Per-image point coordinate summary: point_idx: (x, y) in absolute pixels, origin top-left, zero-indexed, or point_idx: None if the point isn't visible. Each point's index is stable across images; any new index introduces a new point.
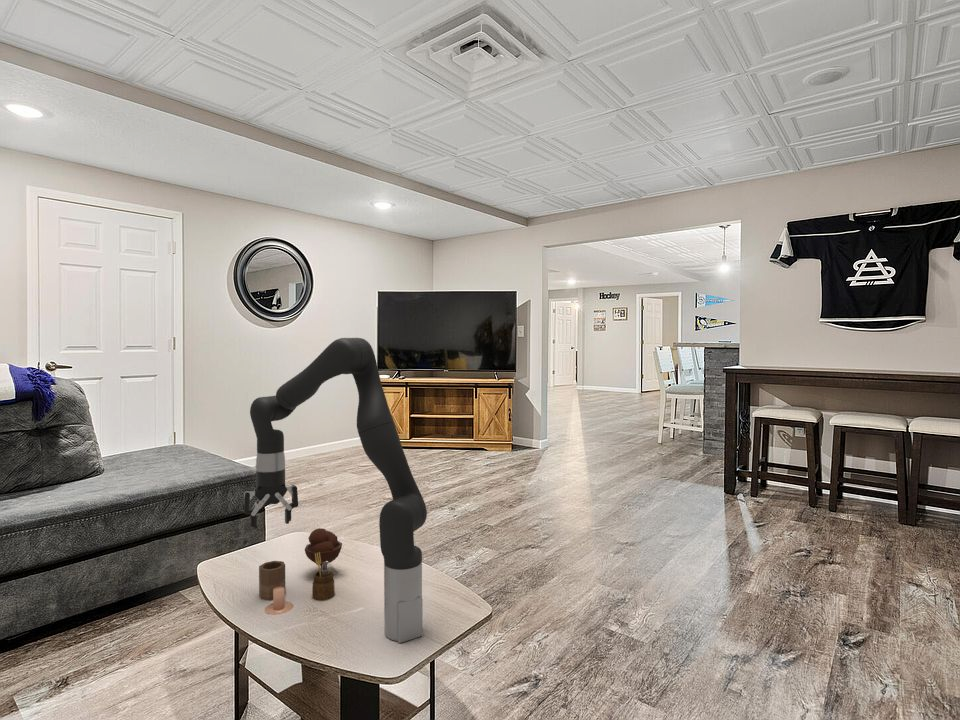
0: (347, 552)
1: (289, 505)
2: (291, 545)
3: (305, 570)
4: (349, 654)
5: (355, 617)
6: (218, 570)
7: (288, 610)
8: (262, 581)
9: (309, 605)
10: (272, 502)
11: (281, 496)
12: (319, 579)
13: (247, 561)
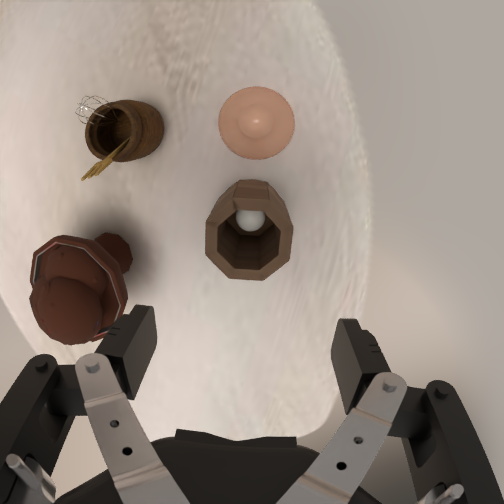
0: None
1: (82, 381)
2: (160, 426)
3: None
4: None
5: (115, 8)
6: (312, 402)
7: (239, 93)
8: (285, 210)
9: (180, 109)
10: (226, 451)
11: (115, 473)
12: (129, 107)
13: (252, 412)
